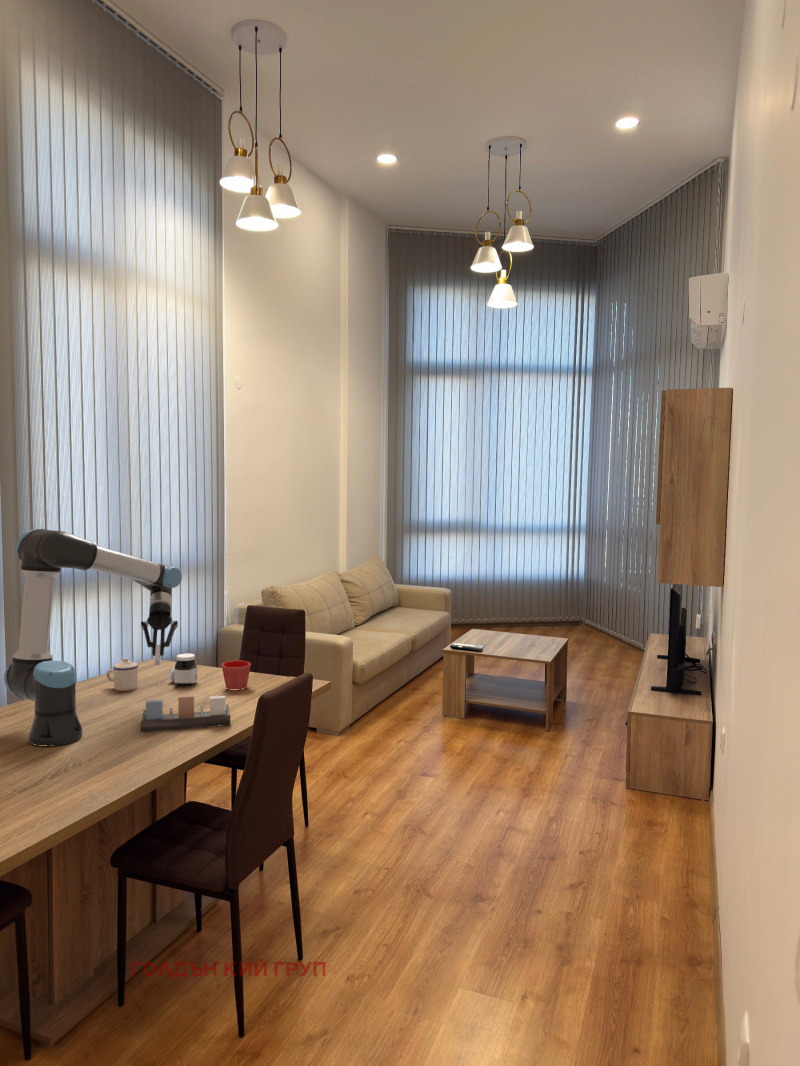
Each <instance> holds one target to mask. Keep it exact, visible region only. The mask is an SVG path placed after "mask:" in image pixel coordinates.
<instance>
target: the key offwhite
mask: <svg viewBox="0 0 800 1066" xmlns="http://www.w3.org/2000/svg"><path fill="white" fill-rule="evenodd" d="M225 710H226V695H215V696H214V695H213V696H209V711H210V716H211V715H225Z"/></svg>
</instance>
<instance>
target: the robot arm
mask: <svg viewBox="0 0 800 1066" xmlns="http://www.w3.org/2000/svg"><path fill="white" fill-rule="evenodd" d="M15 553H16V556H17V557H16V558H18V559H19V561H20V571H21V573H23V575H24V587H23V588H24V589H23V600H22V607H21V608H22V609H21V619H20V620H21V621H20V630H19V631H20V632H19V641H18V642H19V643H18V650H17V652H15V653H14V654H12V661H11V662H10V663H9V665H8V666H7V667H6V668H5V671H4V674H3V682H4V686H5V687H6V689H7V690H8V692H10V693H11V694H13V695H15V696H17V697H18V698H22V699H25V700H30V701H34V718H33V721H32V724H31V727H30V731H29V733H28V742H29V741H30V742H31V743H33V744H36V745H47V746H50V745H51V746H50V747H56V746H55V745H59V746H63V744H64V745H68V744H71V742H72V743H74V742H77V741H78V740H80V739H81V738H82V737H83V726H82V725H81V721H80V719H79V715H78V714H77V707H76V706H77V702H76V700H77V699H76V697H77V696H76V694H77V693H76V690H77V689H76V680H77V676H76V671H75V666H74V665H73V664H71V663H69V662H67V661H63V660H53V655H52V654H51V652H50V651H49V644H50V633H51V625H52V624H51V622H52V612H53V599H54V590H55V579H56V577H57V576H58V575H59V574H60V573H61V571H62V570H61V569H62V568H63V569H75V570H80V571H89V570H93V571H97V572H102V573H106V574H110V575H113V576H117V577H121V578H126V579H131V580H132V581H134V582H135V583H136V584H139V585H140V586H142V587H143V588H145V589H147V590H148V591H149V592H150V593H149V594H150V595H149V596H150V597H149V608H148V609H149V612H148V617H147V619H146V620H145V621H141V622H140V628H141V629H142V630H143V632H144V637H145V641H146V646H147V647H148V648H151V651H152V652H151V654H152V657H154V665H155V666H160V665H161V657H162V656H164V655H165V648H168V647H170V645H171V643H172V640H173V637H174V634H175V631H176V629H177V628H178V626H179V622H178V620H175V621H174V620H173V618H172V595H173V594H172V593H173V589H174V588H177V587H178V586H179V585H180V584H181V583H182V578H183V575H182V574H183V573H182V571H181V570H180V568H178V567H177V566H172V565H165V564H161V563H158V562H154V561H151V560H148V559H144V558H139V557H137V556H135V555H134V556H133V555H129V554H126V553H123V552H119V551H116V550H112V549H108V548H105V547H100V546H98V544H97V543H96V542H94V541H93V540H90V539H89V540H88V539H85V538H83V537H80V536H77V535H75V534H72V533H69V532H66V531H62V530H52V529H45V528H37V529H36V528H35V529H31V530H28V531H26V532H24V533H23V534H21V536H20V537H19V538H18V540H17V542H16V544H15ZM149 626H150V628H151V629H152V630H153V633H152V641H151V637H150V633H149V629H148V627H149ZM169 626H170V628H169V631H168V634H167V637H165V636H166V629H167V628H168V627H169ZM158 631H160V639H159V640H160V643H159V644H158ZM165 638H166V640H165ZM76 740H77V741H76ZM52 745H54V746H52Z"/></svg>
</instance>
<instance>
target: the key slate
mask: <svg viewBox="0 0 800 1066" xmlns="http://www.w3.org/2000/svg"><path fill="white" fill-rule="evenodd" d="M145 710H146V720H153V719H163V715H164V714H163V711H164V710H163V699H154V700H153V699H152V700H146V701H145Z"/></svg>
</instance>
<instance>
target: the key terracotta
mask: <svg viewBox="0 0 800 1066" xmlns="http://www.w3.org/2000/svg"><path fill="white" fill-rule="evenodd" d="M177 697H178V698H177V699H178V700H177V701H178V704H177V705H178V713H179V718H182V717H194V712H195V694H184V695H178V696H177Z"/></svg>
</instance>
